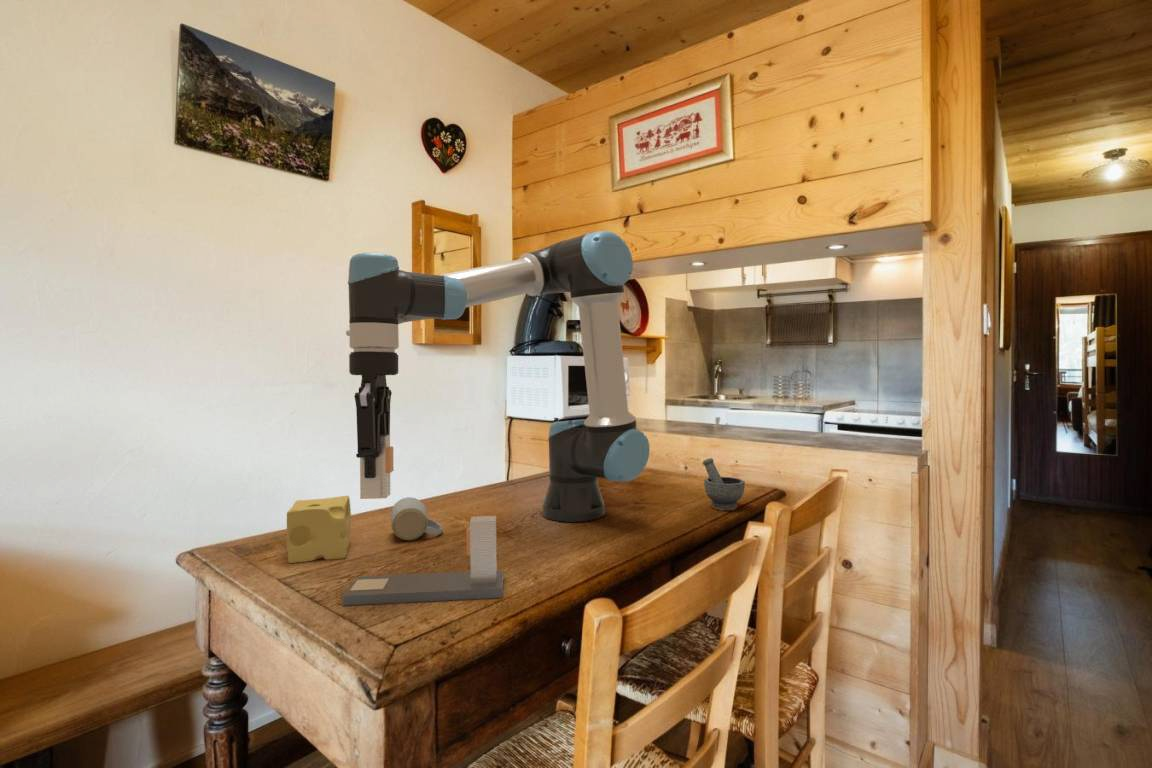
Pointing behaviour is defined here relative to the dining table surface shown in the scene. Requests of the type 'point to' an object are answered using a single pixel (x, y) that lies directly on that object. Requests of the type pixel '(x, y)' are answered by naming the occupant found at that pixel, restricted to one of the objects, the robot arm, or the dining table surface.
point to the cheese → (318, 529)
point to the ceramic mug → (412, 520)
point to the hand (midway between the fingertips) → (374, 494)
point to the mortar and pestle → (722, 488)
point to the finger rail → (439, 576)
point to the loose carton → (382, 465)
